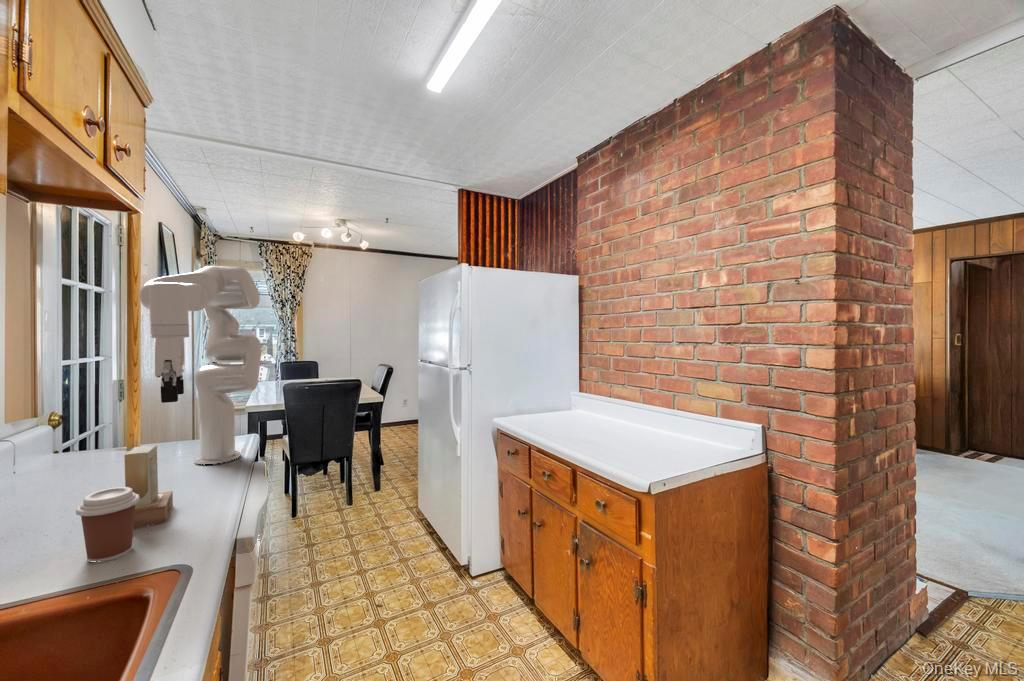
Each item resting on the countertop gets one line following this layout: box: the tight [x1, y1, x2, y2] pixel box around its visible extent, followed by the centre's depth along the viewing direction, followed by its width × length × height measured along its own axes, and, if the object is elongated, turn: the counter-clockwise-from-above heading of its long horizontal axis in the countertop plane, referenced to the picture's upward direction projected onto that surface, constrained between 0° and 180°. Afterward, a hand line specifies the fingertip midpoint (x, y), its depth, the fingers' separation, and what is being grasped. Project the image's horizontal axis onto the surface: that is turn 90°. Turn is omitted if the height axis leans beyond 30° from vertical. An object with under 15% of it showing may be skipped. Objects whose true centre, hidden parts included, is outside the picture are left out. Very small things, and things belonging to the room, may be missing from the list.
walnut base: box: [133, 490, 174, 529], centre depth 98 cm, size 10×10×4 cm
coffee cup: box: [75, 486, 140, 562], centre depth 83 cm, size 9×9×12 cm
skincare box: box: [124, 444, 159, 506], centre depth 98 cm, size 6×4×12 cm
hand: (173, 398), depth 109 cm, fingers open, 9 cm apart
